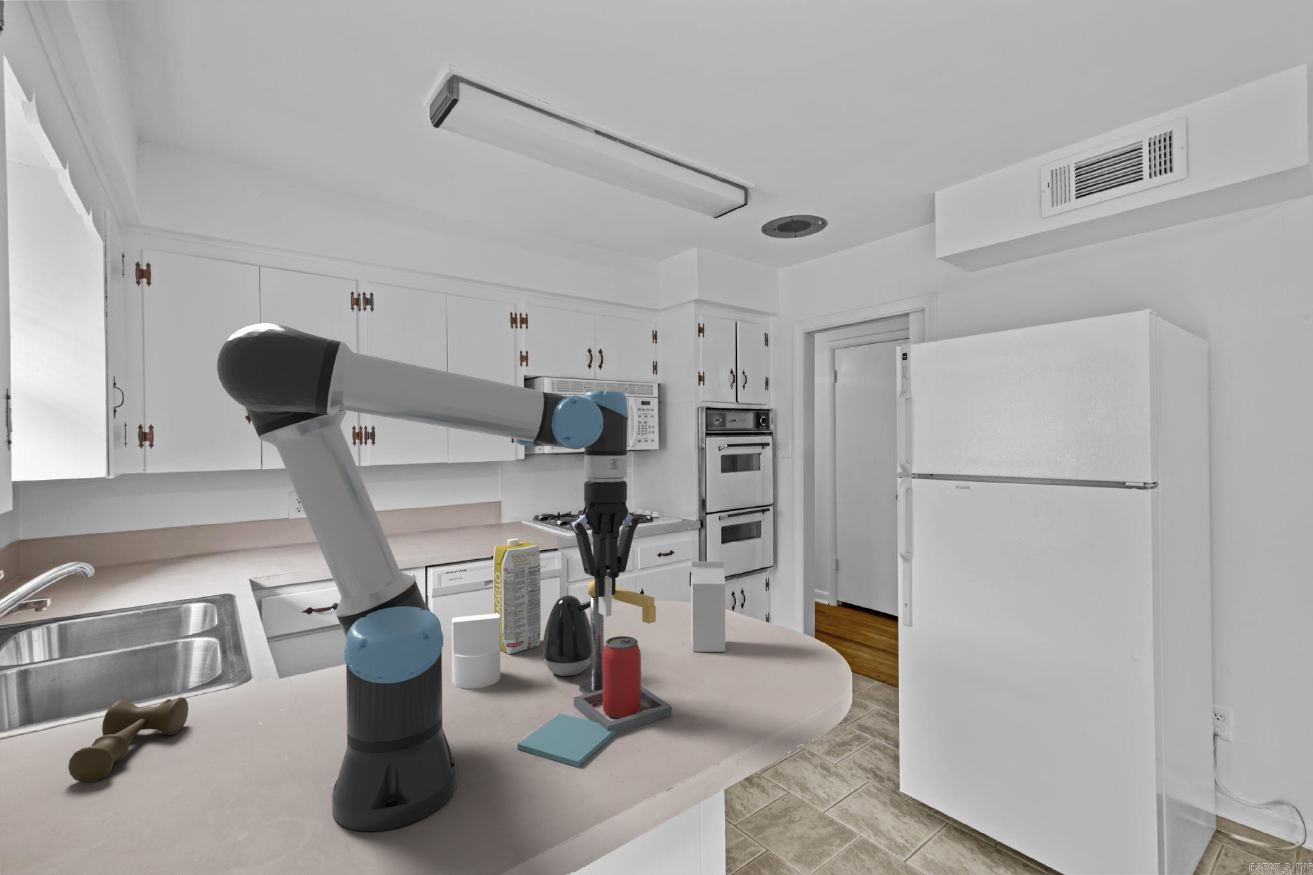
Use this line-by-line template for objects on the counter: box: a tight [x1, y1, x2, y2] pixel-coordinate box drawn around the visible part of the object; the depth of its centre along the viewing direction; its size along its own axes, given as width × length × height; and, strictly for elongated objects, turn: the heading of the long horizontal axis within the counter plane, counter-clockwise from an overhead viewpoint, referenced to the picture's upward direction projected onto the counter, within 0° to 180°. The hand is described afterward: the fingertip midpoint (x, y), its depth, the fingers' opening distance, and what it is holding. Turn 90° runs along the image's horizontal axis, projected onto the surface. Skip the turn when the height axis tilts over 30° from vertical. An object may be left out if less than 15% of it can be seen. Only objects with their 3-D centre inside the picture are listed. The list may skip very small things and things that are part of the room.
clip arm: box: [587, 580, 657, 625], centre depth 106 cm, size 16×3×4 cm, turn 46°
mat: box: [516, 713, 617, 768], centre depth 94 cm, size 11×11×1 cm
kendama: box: [67, 696, 189, 783], centre depth 92 cm, size 6×10×20 cm
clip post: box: [578, 595, 605, 695], centre depth 111 cm, size 5×5×18 cm
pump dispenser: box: [542, 594, 591, 677], centre depth 121 cm, size 10×10×15 cm
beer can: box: [602, 635, 642, 719], centre depth 104 cm, size 7×7×12 cm
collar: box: [573, 685, 673, 734], centre depth 104 cm, size 12×12×2 cm
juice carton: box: [492, 538, 542, 655], centre depth 134 cm, size 9×8×24 cm
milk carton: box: [690, 561, 726, 653], centre depth 134 cm, size 7×7×19 cm
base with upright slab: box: [451, 613, 501, 690], centre depth 117 cm, size 9×9×12 cm
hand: (605, 614), depth 105 cm, fingers closed
